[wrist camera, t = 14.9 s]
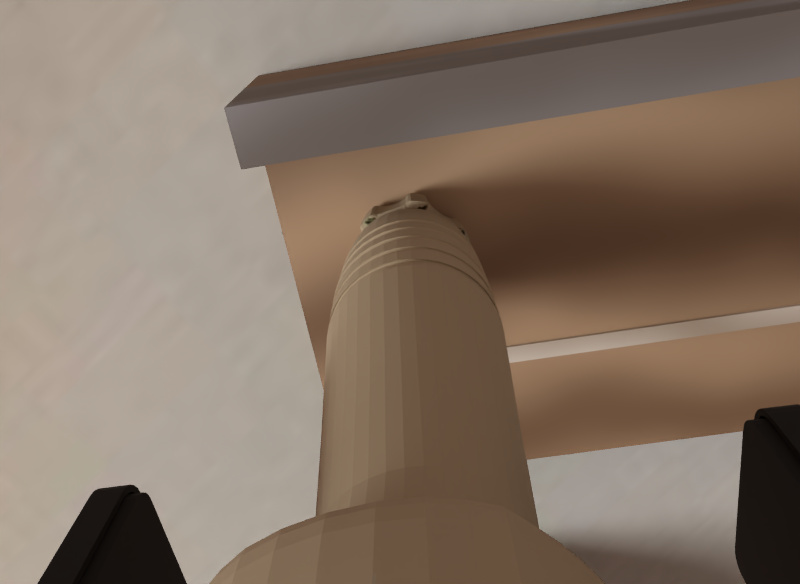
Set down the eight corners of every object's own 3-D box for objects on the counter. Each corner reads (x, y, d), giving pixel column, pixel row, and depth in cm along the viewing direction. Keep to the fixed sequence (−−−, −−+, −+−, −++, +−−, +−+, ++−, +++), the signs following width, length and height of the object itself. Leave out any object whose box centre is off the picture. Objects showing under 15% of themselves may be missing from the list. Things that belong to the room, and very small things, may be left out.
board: (1002, 358, 25) (1120, 438, 21) (351, 446, 26) (343, 537, 22) (1123, -76, 18) (1328, -82, 14) (258, 75, 20) (224, 107, 16)
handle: (453, 110, 18) (608, 537, 5) (518, 305, 21) (732, 919, 8) (290, 171, 19) (50, 687, 6) (374, 352, 22) (343, 986, 9)
